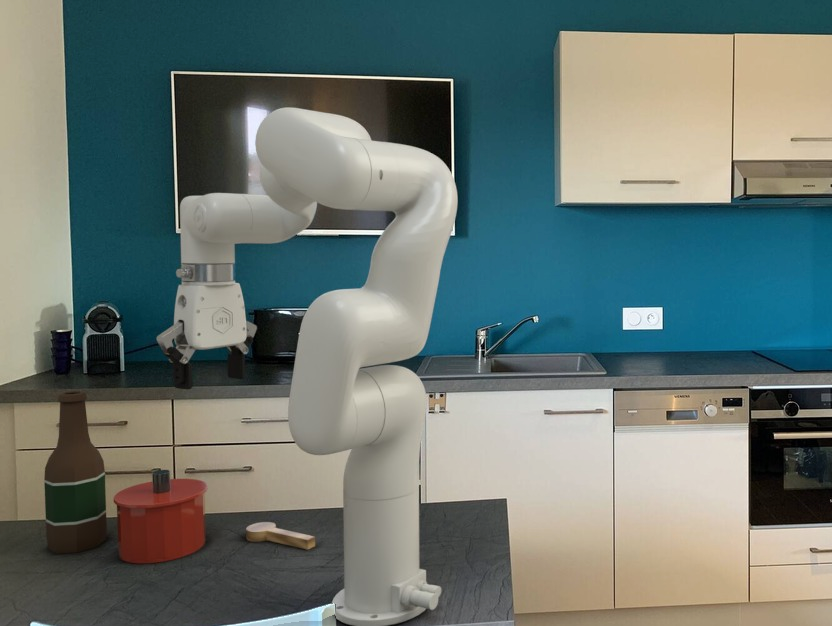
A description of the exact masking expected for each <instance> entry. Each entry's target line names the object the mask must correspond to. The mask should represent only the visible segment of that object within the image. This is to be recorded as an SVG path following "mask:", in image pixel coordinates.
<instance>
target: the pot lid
mask: <svg viewBox="0 0 832 626" xmlns="http://www.w3.org/2000/svg"><path fill="white" fill-rule="evenodd" d="M151 477H152V481H147V482H143V483H139V484H135V485H132V486H129V487H126V488H123V489H122V490H119V491H118V492H117V493H115V494H114V496H113V504H115V505H116V506H117V505H118V506H121V507H127V508H153V507H162V506H168V505H173V504H178V503H182V502H186V501H189V500H192V499H194V498H197V497H199V496H201V495H202V494H204V493H205V494H206V492H207V491H208V489H209V488H208V486H209V485H208V483H207V482H205V481H203V480H200V479H196V478H171V470H169V469H159V470H155V471H153V472H152V473H151Z"/></svg>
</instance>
